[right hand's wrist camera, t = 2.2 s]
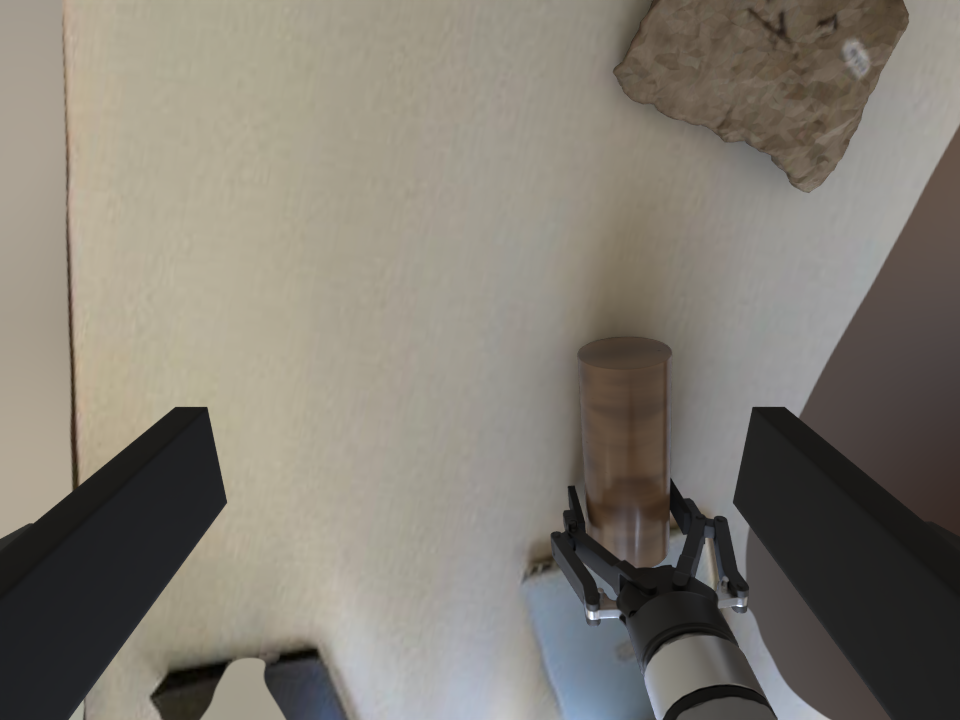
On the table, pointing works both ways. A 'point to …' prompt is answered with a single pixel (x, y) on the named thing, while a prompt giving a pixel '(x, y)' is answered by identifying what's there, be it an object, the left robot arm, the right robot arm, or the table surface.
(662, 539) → the rod
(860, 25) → the stone
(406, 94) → the table surface
